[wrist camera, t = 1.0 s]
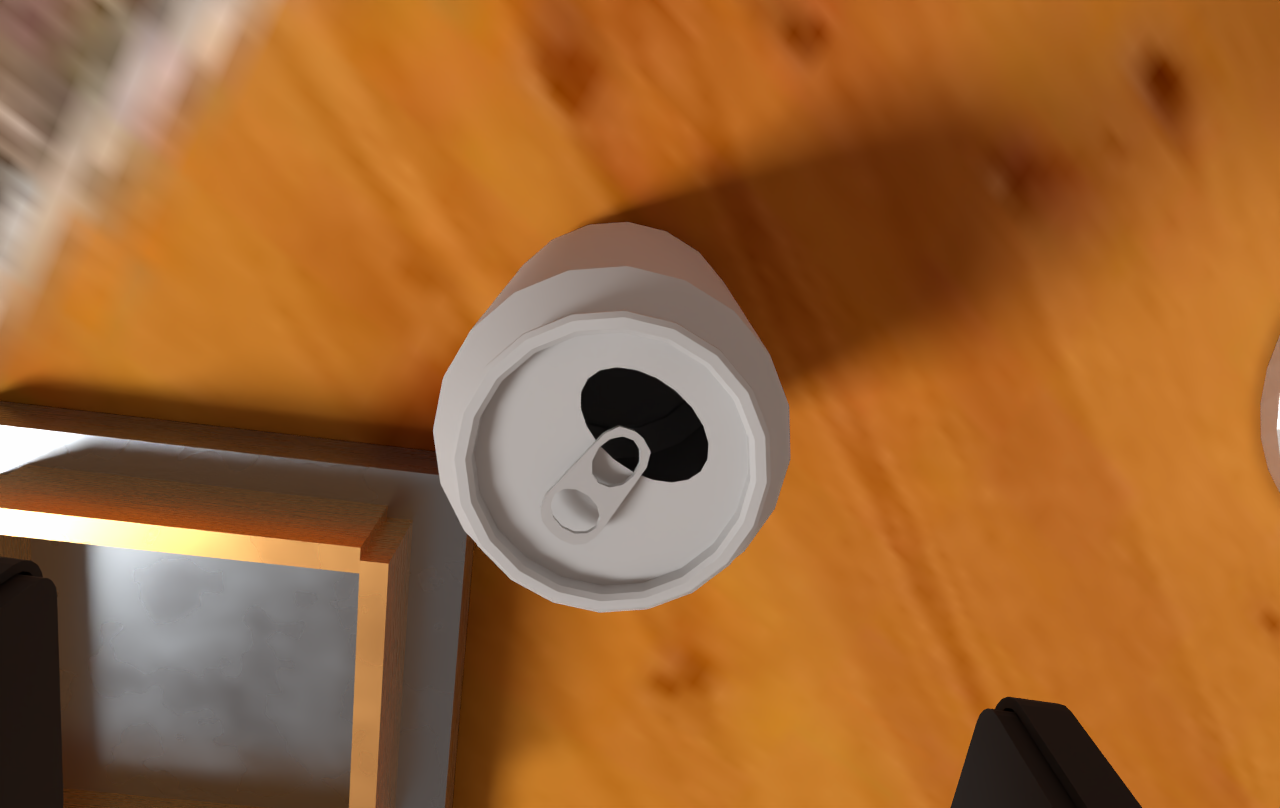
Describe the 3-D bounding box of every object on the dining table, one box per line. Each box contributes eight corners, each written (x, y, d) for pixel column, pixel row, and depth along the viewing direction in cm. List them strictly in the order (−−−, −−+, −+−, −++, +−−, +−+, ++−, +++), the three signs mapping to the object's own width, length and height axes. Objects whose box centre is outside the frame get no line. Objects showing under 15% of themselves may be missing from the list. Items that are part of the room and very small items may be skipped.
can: (785, 326, 29) (888, 454, 17) (630, 493, 30) (631, 712, 19) (604, 166, 27) (586, 190, 16) (452, 350, 29) (335, 493, 17)
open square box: (481, 456, 30) (453, 518, 25) (450, 829, 34) (421, 943, 29) (-18, 399, 29) (-145, 451, 24) (14, 787, 33) (-89, 897, 29)
